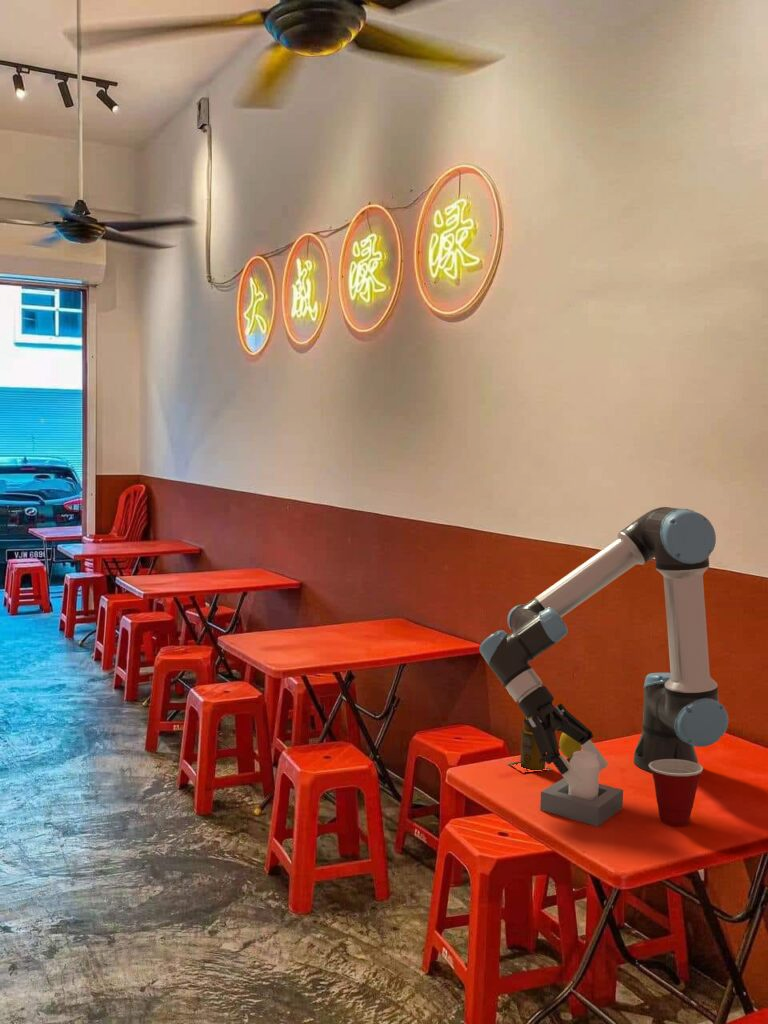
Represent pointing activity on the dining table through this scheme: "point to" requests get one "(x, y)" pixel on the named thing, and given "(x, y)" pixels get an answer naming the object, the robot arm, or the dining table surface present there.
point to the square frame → (582, 803)
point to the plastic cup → (675, 789)
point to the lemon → (568, 745)
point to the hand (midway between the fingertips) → (591, 776)
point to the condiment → (530, 751)
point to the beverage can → (585, 775)
